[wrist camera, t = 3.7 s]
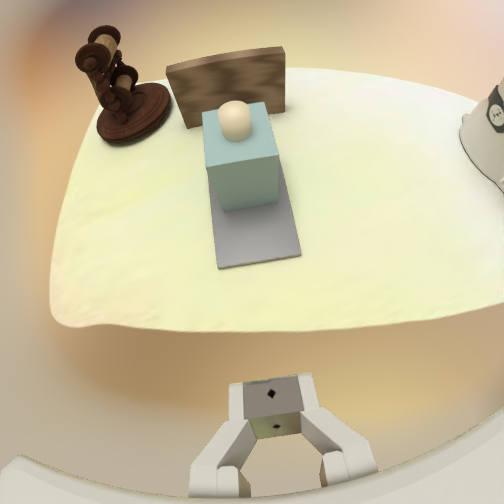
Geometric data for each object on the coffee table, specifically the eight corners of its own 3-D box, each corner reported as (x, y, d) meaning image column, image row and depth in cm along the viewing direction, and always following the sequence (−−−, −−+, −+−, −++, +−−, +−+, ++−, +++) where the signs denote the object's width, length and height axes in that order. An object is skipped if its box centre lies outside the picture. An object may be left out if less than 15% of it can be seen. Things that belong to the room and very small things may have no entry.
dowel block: (267, 153, 37) (262, 81, 25) (278, 203, 35) (278, 134, 22) (217, 162, 37) (196, 93, 25) (223, 212, 35) (198, 148, 22)
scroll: (109, 105, 46) (68, 36, 27) (174, 84, 46) (145, 2, 27) (96, 157, 41) (35, 82, 22) (171, 134, 41) (127, 36, 22)
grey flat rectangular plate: (266, 114, 41) (266, 110, 40) (300, 255, 33) (301, 253, 32) (205, 124, 41) (203, 121, 40) (218, 269, 34) (217, 267, 33)
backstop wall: (282, 104, 41) (281, 46, 30) (284, 112, 41) (285, 52, 29) (187, 120, 42) (166, 66, 30) (187, 128, 41) (165, 73, 30)
